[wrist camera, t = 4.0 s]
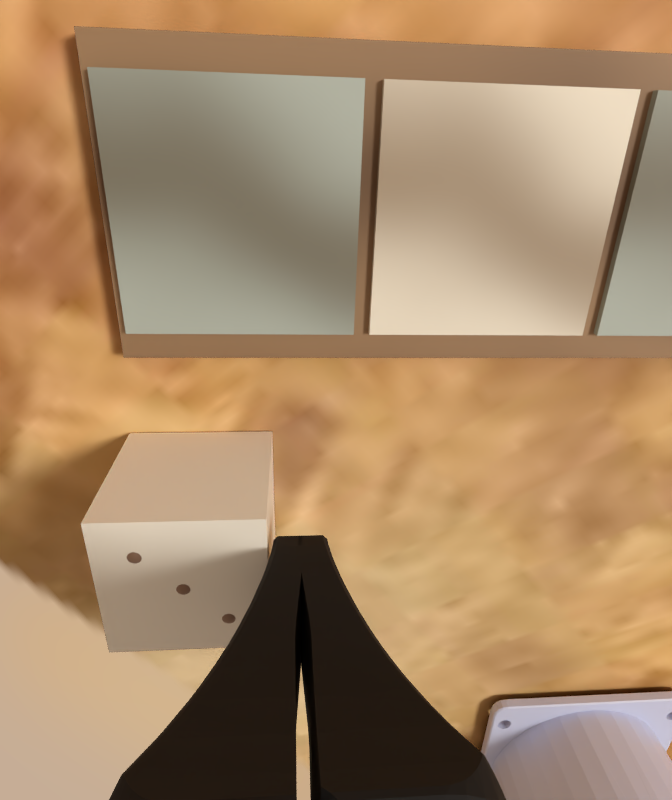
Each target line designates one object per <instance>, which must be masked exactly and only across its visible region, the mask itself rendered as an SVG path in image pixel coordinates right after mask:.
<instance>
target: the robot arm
mask: <svg viewBox="0 0 672 800" xmlns="http://www.w3.org/2000/svg"><path fill="white" fill-rule="evenodd" d="M301 666H302V676H303V685H304V694H305V703H306V713H307V722H308V733H309V748H310V789H311V800H672V761H671V759H670V758H669V756H668V754H667V753H666V751H667V749H668V747H669V745H670V743H671V741H672V691H663V692H643V693H623V694H602V695H582V696H562V697H541V698H521V699H504V700H499V701H497V702H496V703H495V704H493V706H492V708H491V711H490V715H489V720H488V724H487V728H486V732H485V737H484V741H483V745H482V750H481V752H480V751H479V750H478V749H477V748H476V747H475V746H473V745H472V744H471V743H470V742H469V741H468V740H467V739H465V738H464V737H463V736H462V735H461V734H460V733H459V732H458V731H457V730H456V729H455V728H454V727H452V726H451V725H450V724H449V723H448V722H447V721H446V720H445V719H444V718H443V717H442V716H441V715H440V714H439V713H438V712H437V711H436V710H435V709H434V708H433V707H432V706H431V705H430V703H429V702H428V701H427V700H426V699H425V698H424V697H423V696H422V695H421V693H420V692H419V691H418V690H417V689H416V688H415V687H414V686H413V684H412V683H411V682H410V681H409V680H408V679H407V678H406V677H405V675H404V674H403V673H402V672H401V670H400V669H399V668H398V667H397V665H396V664H395V663H394V662H393V660H392V659H391V658H390V656H389V655H388V654H387V652H386V651H385V650H384V648H383V647H382V646H381V644H380V643H379V641H378V640H377V638H376V637H375V636H374V634H373V632H372V631H371V629H370V628H369V626H368V625H367V623H366V621H365V620H364V618H363V617H362V615H361V613H360V612H359V610H358V608H357V606H356V605H355V603H354V601H353V599H352V597H351V596H350V594H349V592H348V590H347V588H346V586H345V584H344V582H343V580H342V578H341V576H340V574H339V571H338V569H337V567H336V565H335V562H334V560H333V557H332V554H331V552H330V548H329V545H328V541H327V539H326V538H325V537H324V536H323V535H316V536H278V537H277V538H275V539H274V540H273V546H272V550H271V554H270V557H269V560H268V563H267V566H266V569H265V571H264V574H263V577H262V579H261V581H260V584H259V586H258V588H257V590H256V593H255V595H254V597H253V599H252V602H251V604H250V606H249V608H248V609H247V611H246V613H245V615H244V617H243V619H242V621H241V623H240V625H239V626H238V628H237V630H236V632H235V634H234V635H233V637H232V639H231V640H230V642H229V644H228V645H227V647H226V649H225V650H224V652H223V653H222V655H221V656H220V658H219V660H218V661H217V663H216V664H215V665H214V667H213V668H212V670H211V671H210V673H209V674H208V675H207V677H206V678H205V680H204V681H203V682H202V684H201V685H200V687H199V688H198V689H197V691H196V692H195V693H194V695H193V696H192V697H191V698H190V700H189V701H188V702H187V703H186V705H185V706H184V707H183V708H182V710H181V711H180V712H179V713H178V714H177V715H176V717H175V718H174V719H173V720H172V721H171V723H170V724H169V725H168V726H167V728H165V730H164V731H163V732H162V733H161V734H160V735H159V736H158V738H157V739H156V740H155V741H154V742H153V743H152V744H151V745H150V746H149V747H148V748H147V749H146V750H145V751H144V752H143V753H142V754H141V755H140V756H139V757H138V758H137V759H136V761H135V762H134V763H133V764H132V765H131V766H130V767H129V768H128V769H127V770H126V771H125V772H124V773H123V774H122V776H121V777H120V779H119V781H118V783H117V785H116V787H115V789H114V791H113V793H112V795H111V797H110V799H109V800H297V797H296V721H297V708H298V695H299V682H300V669H301Z"/></svg>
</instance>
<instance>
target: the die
mask: <svg viewBox="0 0 672 800" xmlns="http://www.w3.org/2000/svg"><path fill="white" fill-rule="evenodd" d="M81 527H82V532H83V536H84V541H85V545H86V550H87V554H88V559H89V563H90V568H91V572H92V577H93V581H94V586H95V590H96V595H97V599H98V604H99V608H100V613H101V618H102V622H103V627H104V631H105V636H106V640H107V645H108V649H109V652H129V651H153V650H177V649H202V648H226V647H227V645H228V644H229V642H230V640H231V639H232V637H233V635H234V634H235V632H236V630H237V628H238V626H239V625H240V623H241V621H242V619H243V617H244V615H245V613H246V611H247V609H248V608H249V606H250V604H251V602H252V599H253V597H254V595H255V593H256V590H257V588H258V586H259V584H260V581H261V579H262V577H263V574H264V571H265V569H266V566H267V563H268V560H269V557H270V554H271V550H272V546H273V540H274V539H275V513H274V477H273V442H272V431H259V432H174V433H129V435H128V437H127V439H126V441H125V443H124V445H123V446H122V448H121V450H120V452H119V454H118V456H117V458H116V459H115V461H114V463H113V465H112V467H111V469H110V470H109V472H108V474H107V476H106V478H105V480H104V482H103V483H102V485H101V487H100V489H99V491H98V493H97V494H96V496H95V498H94V500H93V502H92V504H91V506H90V507H89V509H88V511H87V513H86V515H85V517H84V519H83V520H82V522H81Z"/></svg>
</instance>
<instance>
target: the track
mask: <svg viewBox="0 0 672 800" xmlns="http://www.w3.org/2000/svg"><path fill="white" fill-rule="evenodd" d="M74 30H75V37H76V44H77V50H78V57H79V64H80V70H81V77H82V84H83V90H84V97H85V104H86V110H87V117H88V124H89V130H90V137H91V144H92V150H93V157H94V164H95V170H96V177H97V184H98V190H99V197H100V204H101V210H102V217H103V224H104V230H105V237H106V244H107V250H108V257H109V264H110V270H111V277H112V284H113V290H114V297H115V303H116V310H117V317H118V323H119V330H120V337H121V343H122V350H123V357H124V358H672V54H666V53H644V52H622V51H601V50H579V49H557V48H536V47H514V46H492V45H471V44H449V43H427V42H406V41H384V40H362V39H341V38H319V37H297V36H275V35H254V34H232V33H210V32H189V31H167V30H145V29H124V28H102V27H80V26H74Z"/></svg>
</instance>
